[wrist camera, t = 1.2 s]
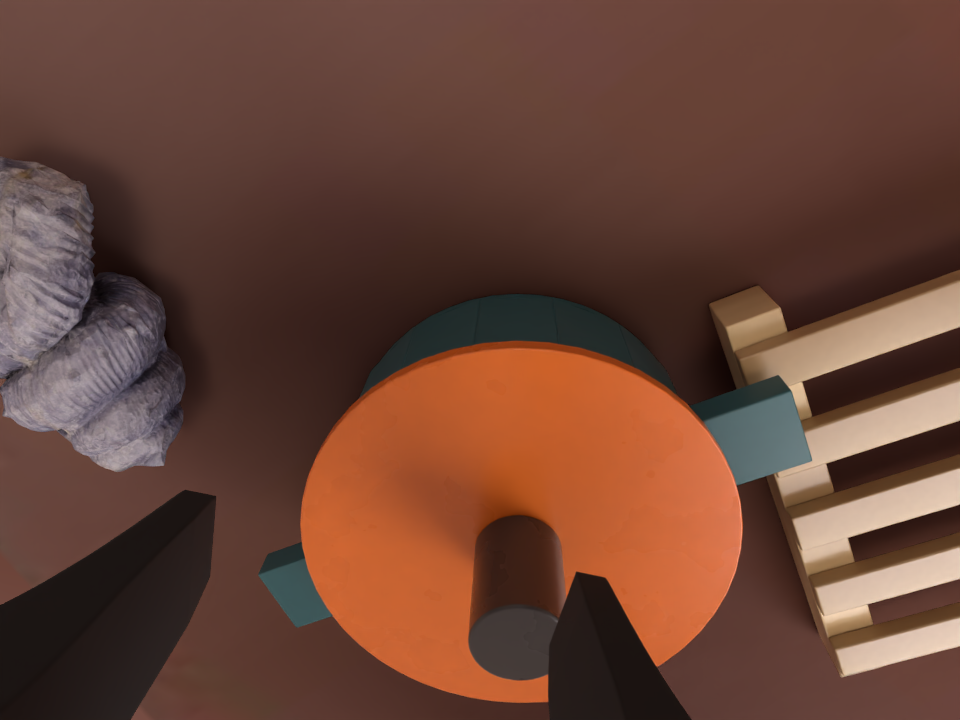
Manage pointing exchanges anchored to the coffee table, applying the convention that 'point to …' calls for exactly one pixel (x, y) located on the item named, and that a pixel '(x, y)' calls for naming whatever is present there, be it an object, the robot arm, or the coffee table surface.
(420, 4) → the coffee table surface
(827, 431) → the rack
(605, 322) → the pot
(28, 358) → the seashell
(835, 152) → the coffee table surface
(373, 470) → the lid
